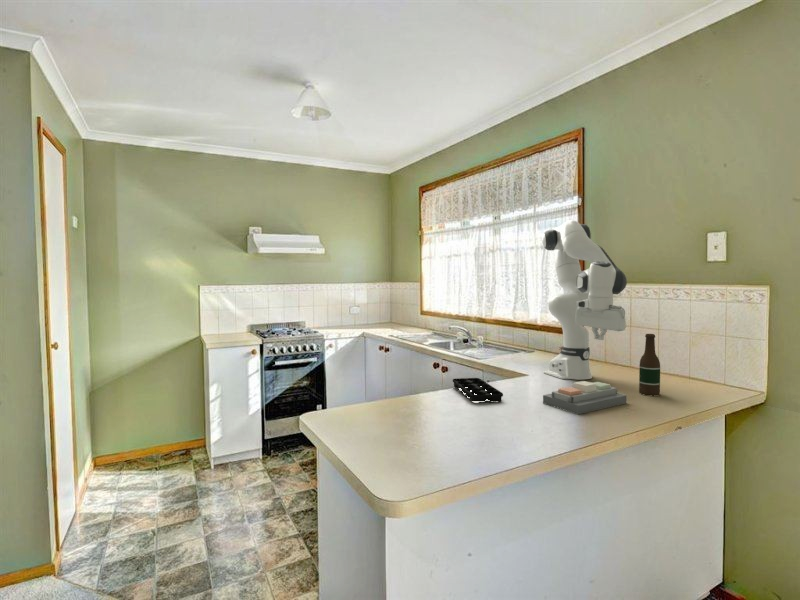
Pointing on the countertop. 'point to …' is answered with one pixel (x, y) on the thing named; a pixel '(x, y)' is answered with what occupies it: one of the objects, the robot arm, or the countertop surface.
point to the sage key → (601, 385)
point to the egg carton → (478, 389)
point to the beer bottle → (649, 369)
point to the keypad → (586, 400)
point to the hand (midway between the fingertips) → (599, 339)
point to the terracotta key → (569, 391)
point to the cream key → (585, 386)
